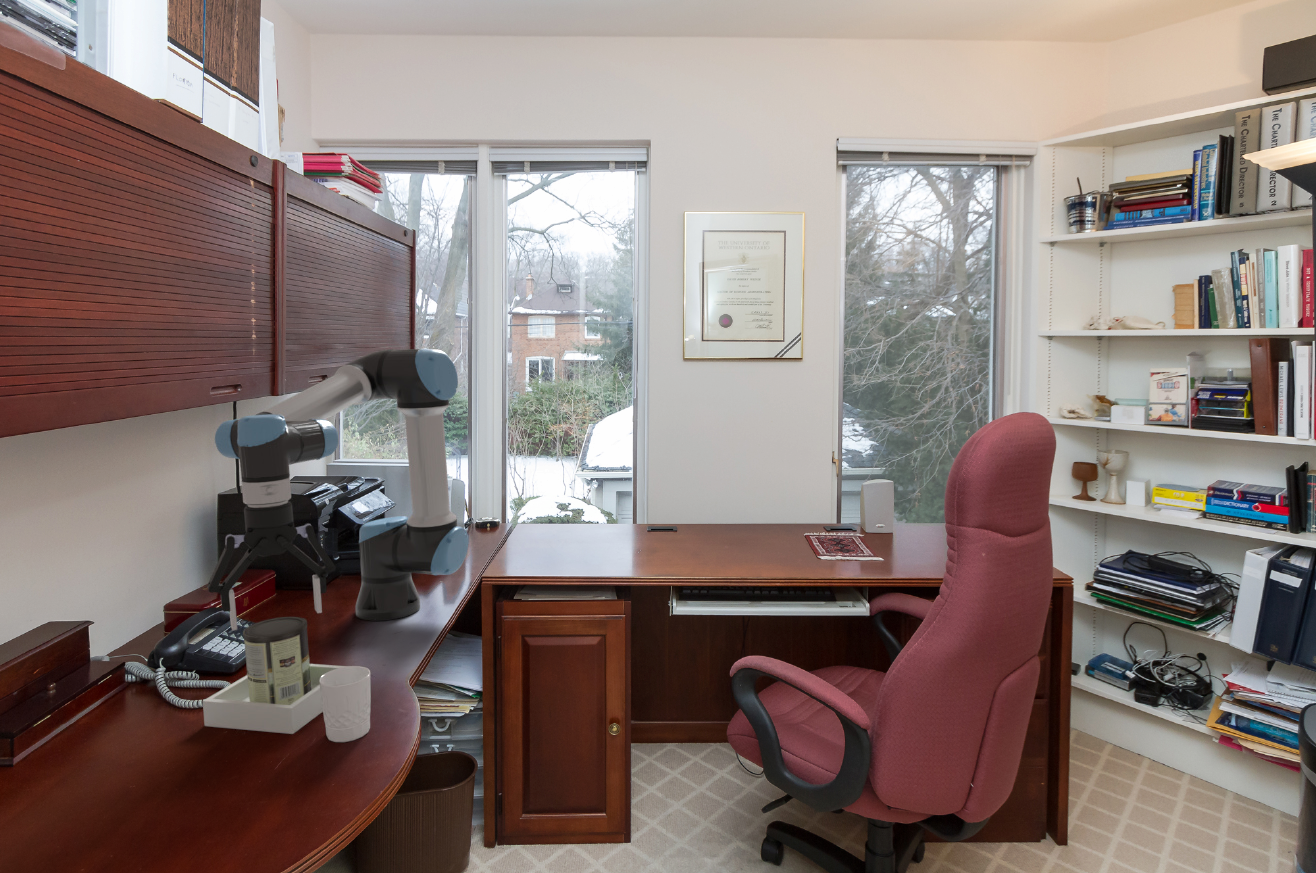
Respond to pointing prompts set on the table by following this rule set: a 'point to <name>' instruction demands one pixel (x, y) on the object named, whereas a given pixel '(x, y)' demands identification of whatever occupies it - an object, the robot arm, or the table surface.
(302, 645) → the coffee can
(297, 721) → the tray
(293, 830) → the table surface
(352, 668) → the white cup
